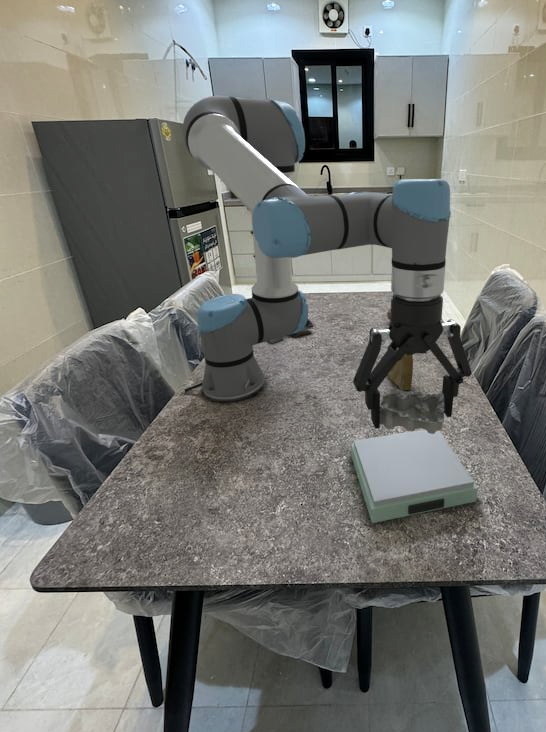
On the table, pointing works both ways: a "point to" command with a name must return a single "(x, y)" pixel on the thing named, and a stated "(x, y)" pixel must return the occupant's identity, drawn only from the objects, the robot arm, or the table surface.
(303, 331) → the cloth
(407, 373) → the rock
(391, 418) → the egg carton
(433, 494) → the scale
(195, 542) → the table surface
